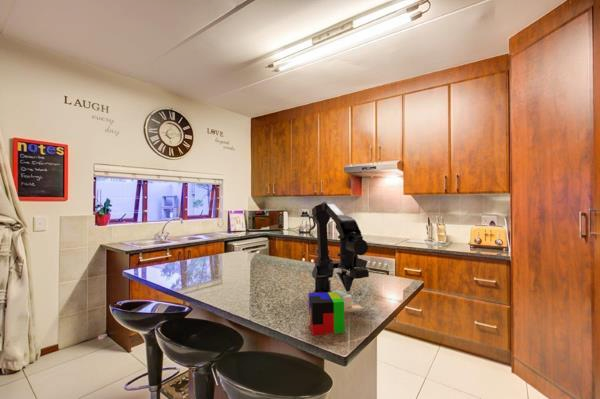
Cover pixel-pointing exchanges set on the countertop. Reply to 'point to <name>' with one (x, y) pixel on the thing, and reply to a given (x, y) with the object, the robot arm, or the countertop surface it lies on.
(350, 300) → the pillar
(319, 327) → the puzzle toy
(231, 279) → the countertop surface
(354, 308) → the mat
